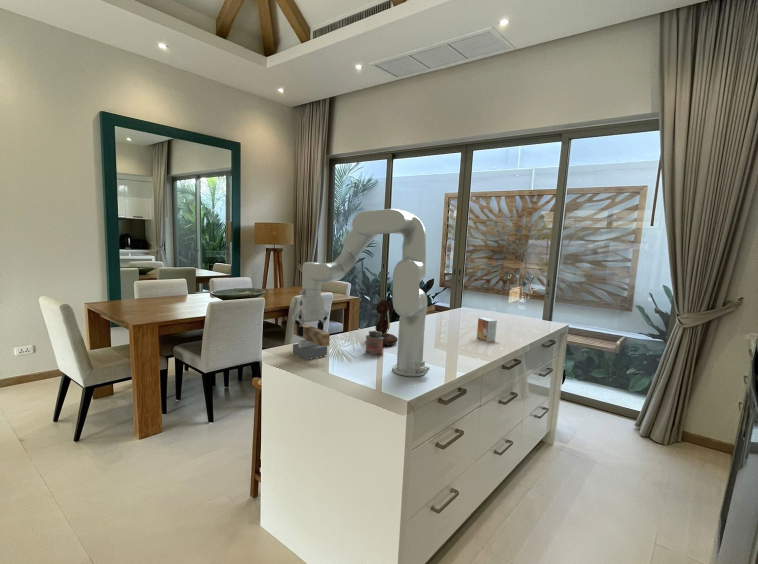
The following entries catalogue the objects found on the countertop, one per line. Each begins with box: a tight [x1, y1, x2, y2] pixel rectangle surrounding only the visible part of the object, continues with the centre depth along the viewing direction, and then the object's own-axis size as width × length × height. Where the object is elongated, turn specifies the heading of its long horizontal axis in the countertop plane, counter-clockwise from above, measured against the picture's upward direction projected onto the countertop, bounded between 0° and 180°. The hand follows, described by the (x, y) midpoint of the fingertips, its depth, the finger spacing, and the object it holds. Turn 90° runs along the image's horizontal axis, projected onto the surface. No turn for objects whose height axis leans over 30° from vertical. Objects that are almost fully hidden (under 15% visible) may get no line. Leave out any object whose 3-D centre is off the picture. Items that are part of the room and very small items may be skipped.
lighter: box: [364, 329, 384, 357], centre depth 167 cm, size 8×3×10 cm, turn 62°
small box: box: [476, 317, 498, 342], centre depth 202 cm, size 8×6×10 cm
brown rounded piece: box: [374, 299, 398, 347], centre depth 185 cm, size 15×15×20 cm
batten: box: [292, 322, 331, 347], centre depth 161 cm, size 22×3×5 cm, turn 43°
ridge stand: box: [292, 339, 328, 361], centre depth 162 cm, size 10×10×6 cm
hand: (310, 334), depth 161 cm, fingers open, 9 cm apart
